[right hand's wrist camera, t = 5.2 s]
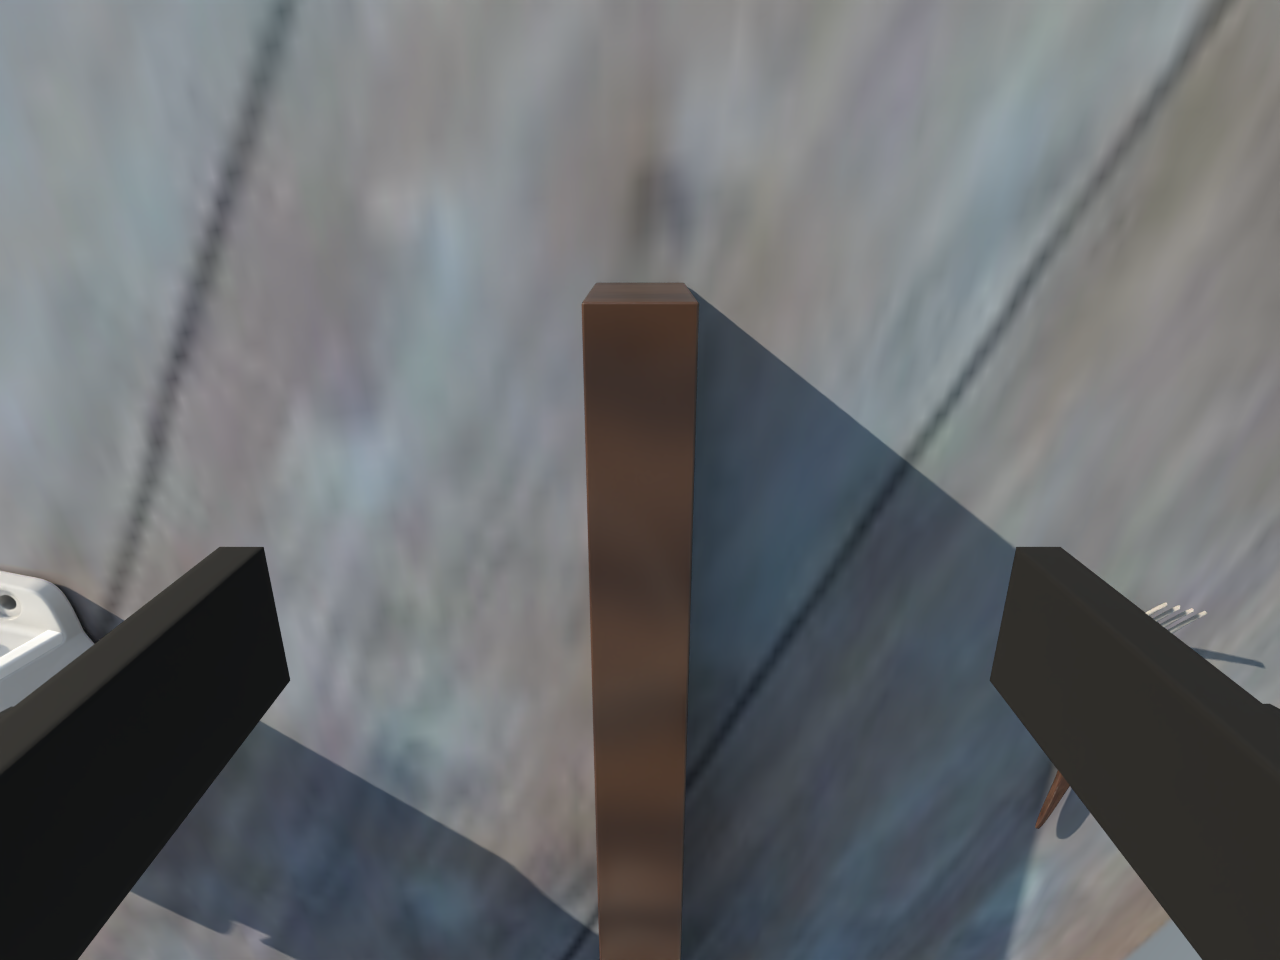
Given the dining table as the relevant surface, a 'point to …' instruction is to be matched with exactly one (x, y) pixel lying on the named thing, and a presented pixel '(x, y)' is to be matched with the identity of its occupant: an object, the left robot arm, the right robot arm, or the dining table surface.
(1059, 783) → the fork
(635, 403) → the walnut beam
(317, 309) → the dining table surface
